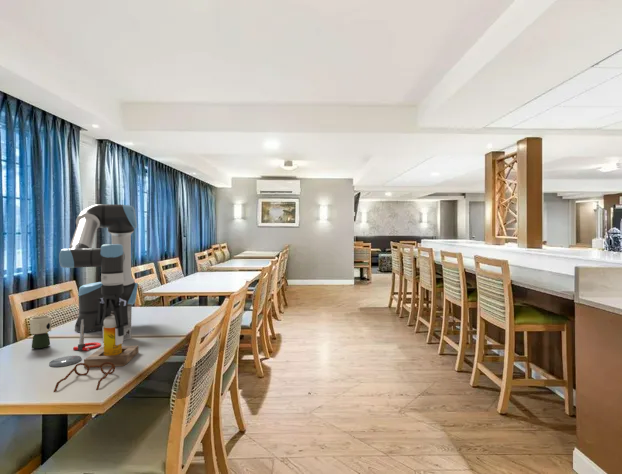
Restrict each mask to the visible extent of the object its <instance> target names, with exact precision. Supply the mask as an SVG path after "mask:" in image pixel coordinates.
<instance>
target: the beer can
mask: <svg viewBox="0 0 622 474" xmlns="http://www.w3.org/2000/svg"><path fill="white" fill-rule="evenodd" d="M116 327H117V325H116V321H115V316H108V317H105V319H104V343H103V347H104V356H111V355H120V354H121V353H122V346H123V345H122V344H123V343H122V344H119V345H115V328H116Z"/></svg>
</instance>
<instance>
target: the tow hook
mask: <svg viewBox="0 0 622 474" xmlns="http://www.w3.org/2000/svg"><path fill="white" fill-rule="evenodd" d="M83 322H84V320H83V319H82V320H81V328H80V332H79V333H80V334H79V343H78V344H77V345H76V346H74V347H73V348H72V350H74V351H81V352H82V351H86V352H89V351H90V350H93V349H96V348H99V347H101V346H102V343H100V342H97V341H96V342H95V341H92V342H86V343H85V337H84V336H85V335H84V333H85V332H84V324H83Z"/></svg>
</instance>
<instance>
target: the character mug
mask: <svg viewBox="0 0 622 474" xmlns="http://www.w3.org/2000/svg"><path fill="white" fill-rule="evenodd" d="M51 331H52V316H51V315H38V316H33V317H31V318H30V319H29V332H30V334H32V335H33V336H32V340H31V341H32V342H31V349H43V348H47V347H50V346H51V339H50V335H49V332H51Z"/></svg>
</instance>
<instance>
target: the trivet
mask: <svg viewBox="0 0 622 474" xmlns="http://www.w3.org/2000/svg"><path fill="white" fill-rule="evenodd" d="M81 361H82V357H81V356H80V355H67V356H61V357H58V358H55V359H52V360H50V361H49V363H48V365H49V367H52V368H60V367H62V368H63V367H67V366H71V365H72V366H73V365H74V364H75V365H76V364H78V363H79V362H81Z"/></svg>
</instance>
